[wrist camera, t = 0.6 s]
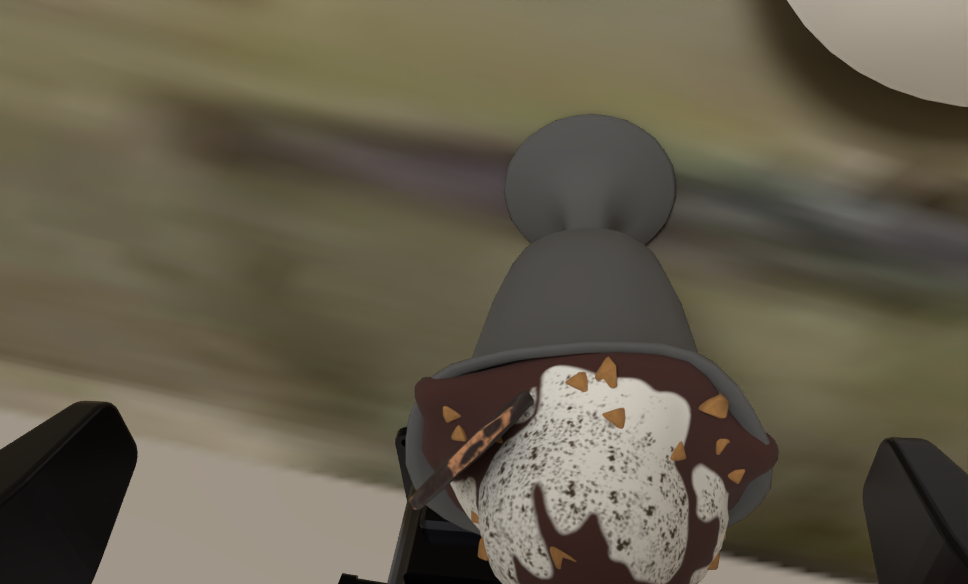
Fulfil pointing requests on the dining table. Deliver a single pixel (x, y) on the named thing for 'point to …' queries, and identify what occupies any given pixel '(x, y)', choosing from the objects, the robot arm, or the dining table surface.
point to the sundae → (589, 387)
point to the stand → (897, 42)
